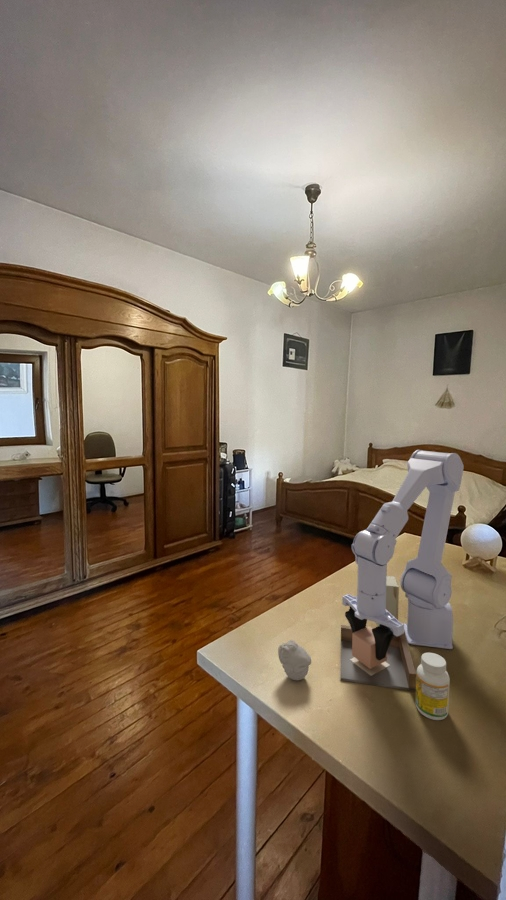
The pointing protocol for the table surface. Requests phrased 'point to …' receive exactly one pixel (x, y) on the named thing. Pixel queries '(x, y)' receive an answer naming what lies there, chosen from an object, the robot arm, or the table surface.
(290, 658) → the frog figurine
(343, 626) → the tray
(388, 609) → the skincare box
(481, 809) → the table surface
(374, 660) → the cube
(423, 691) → the supplement bottle
